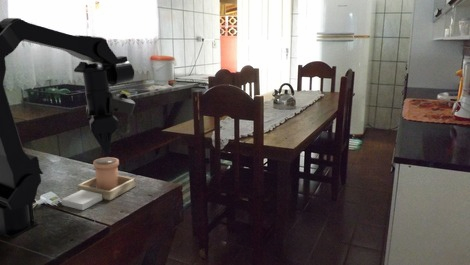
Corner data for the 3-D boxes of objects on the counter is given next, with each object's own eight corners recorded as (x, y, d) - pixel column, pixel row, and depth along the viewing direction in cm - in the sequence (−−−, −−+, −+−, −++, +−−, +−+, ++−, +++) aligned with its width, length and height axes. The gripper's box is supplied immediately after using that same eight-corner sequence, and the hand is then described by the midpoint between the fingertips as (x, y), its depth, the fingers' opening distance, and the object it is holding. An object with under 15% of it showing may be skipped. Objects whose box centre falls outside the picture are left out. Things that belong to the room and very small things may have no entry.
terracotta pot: (109, 196, 96) (107, 166, 94) (89, 191, 98) (87, 162, 96) (125, 187, 101) (123, 159, 99) (106, 183, 104) (104, 155, 102)
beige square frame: (110, 200, 93) (109, 192, 92) (78, 192, 97) (77, 185, 96) (135, 186, 102) (135, 178, 102) (105, 179, 106) (105, 172, 106)
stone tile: (82, 210, 87) (82, 204, 87) (62, 204, 90) (61, 199, 89) (102, 199, 93) (102, 194, 93) (82, 195, 96) (81, 189, 95)
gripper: (137, 92, 87) (143, 154, 92) (125, 79, 103) (130, 132, 108) (86, 97, 83) (95, 162, 88) (82, 83, 99) (90, 138, 104)
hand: (105, 147), depth 97 cm, fingers open, 9 cm apart
